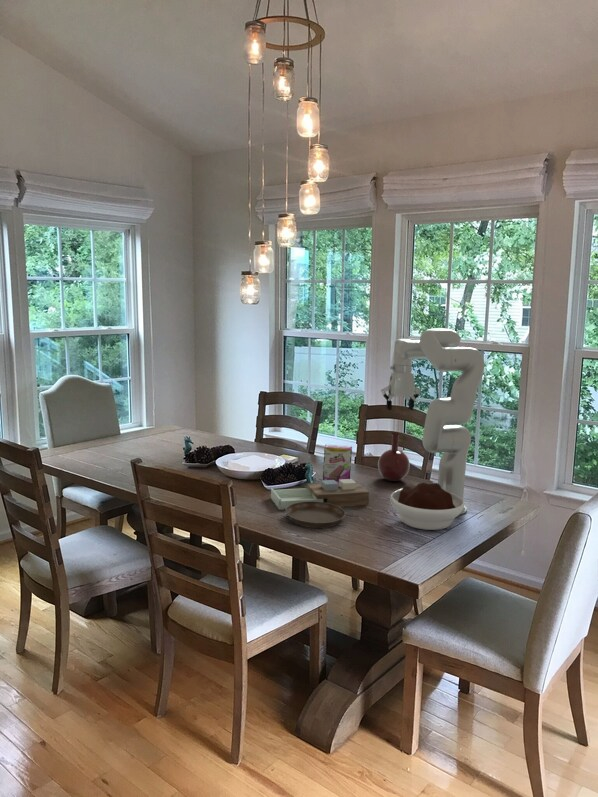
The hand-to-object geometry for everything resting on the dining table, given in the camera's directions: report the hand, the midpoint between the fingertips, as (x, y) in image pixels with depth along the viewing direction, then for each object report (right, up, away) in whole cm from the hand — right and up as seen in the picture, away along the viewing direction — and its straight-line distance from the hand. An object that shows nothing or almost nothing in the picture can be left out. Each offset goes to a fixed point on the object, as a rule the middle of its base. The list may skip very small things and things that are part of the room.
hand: (399, 409), depth 285 cm
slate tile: (-31, -29, -29) cm, 52 cm away
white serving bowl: (+1, -39, -50) cm, 64 cm away
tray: (-43, -34, -32) cm, 64 cm away
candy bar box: (-27, -31, -9) cm, 42 cm away
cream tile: (-24, -29, -28) cm, 47 cm away
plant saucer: (-37, -38, -48) cm, 72 cm away
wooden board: (-28, -34, -28) cm, 52 cm away
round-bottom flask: (-3, -30, +1) cm, 30 cm away
